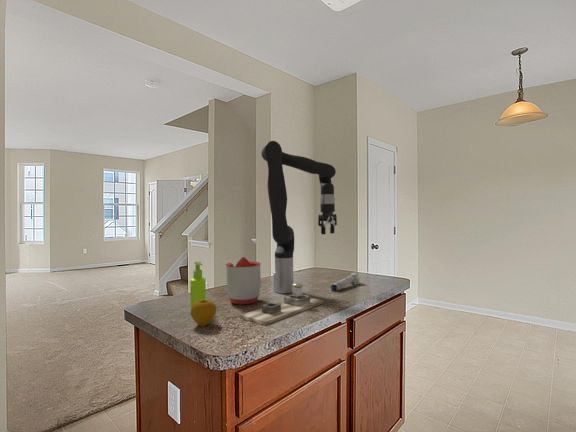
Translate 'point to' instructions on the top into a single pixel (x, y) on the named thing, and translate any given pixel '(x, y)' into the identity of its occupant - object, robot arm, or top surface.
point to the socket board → (280, 309)
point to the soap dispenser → (197, 285)
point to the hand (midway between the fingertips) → (327, 233)
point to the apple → (203, 312)
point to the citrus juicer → (243, 281)
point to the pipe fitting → (297, 290)
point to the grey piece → (345, 282)
